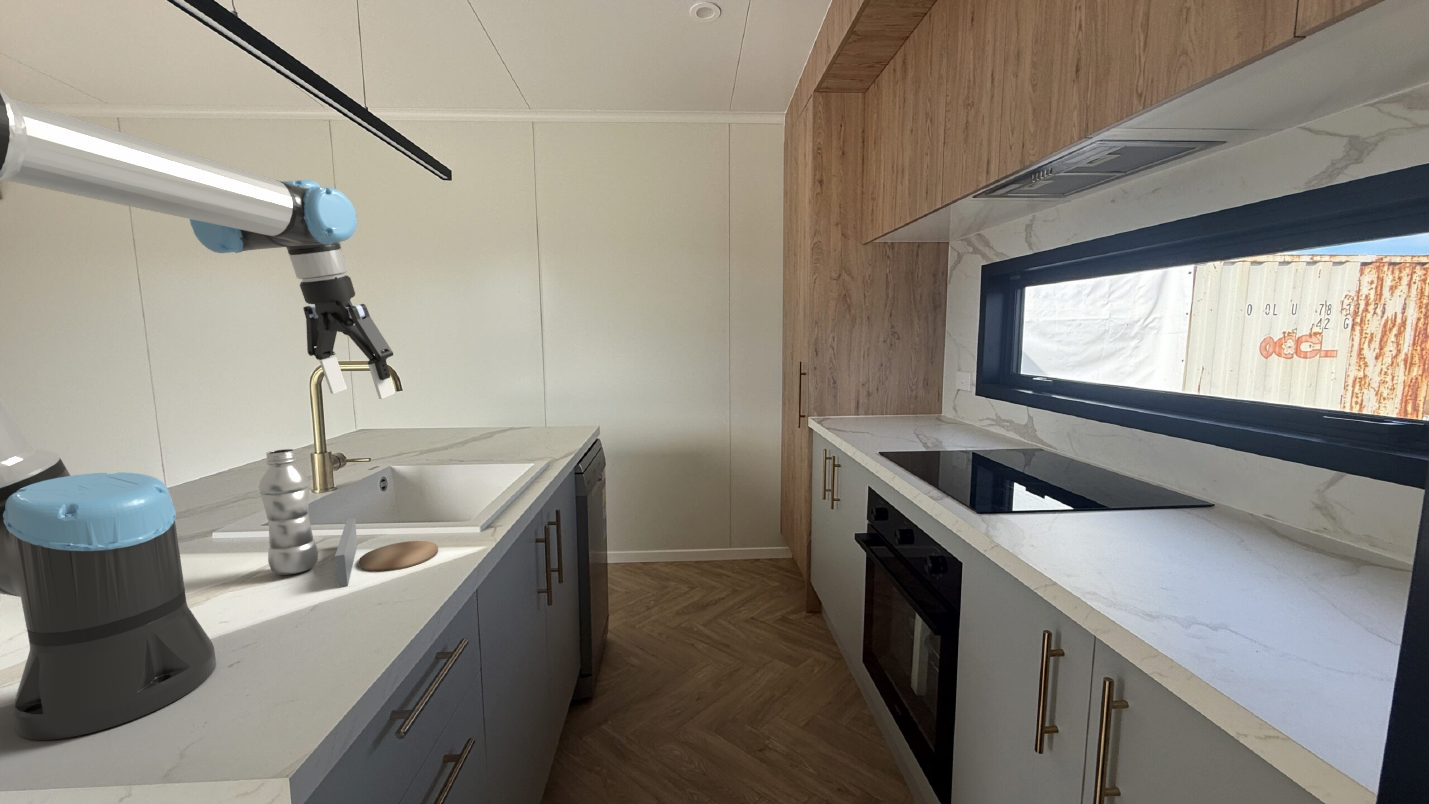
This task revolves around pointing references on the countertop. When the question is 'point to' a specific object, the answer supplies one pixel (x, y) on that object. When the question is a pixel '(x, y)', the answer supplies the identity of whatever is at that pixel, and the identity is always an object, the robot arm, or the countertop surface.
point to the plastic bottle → (287, 514)
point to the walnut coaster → (398, 556)
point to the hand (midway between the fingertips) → (362, 393)
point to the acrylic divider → (346, 553)
